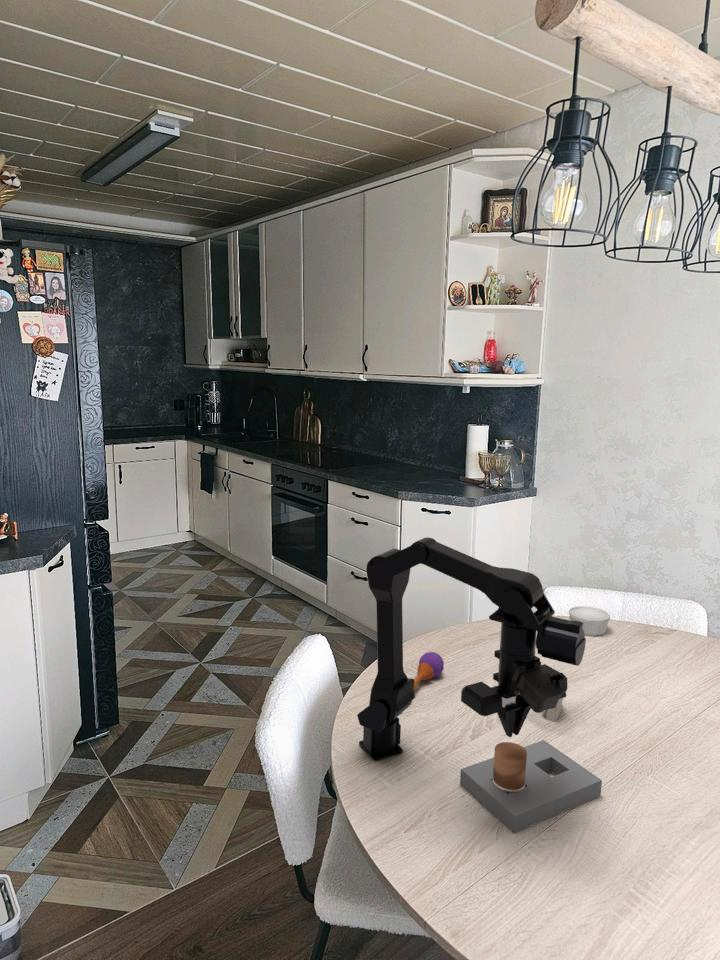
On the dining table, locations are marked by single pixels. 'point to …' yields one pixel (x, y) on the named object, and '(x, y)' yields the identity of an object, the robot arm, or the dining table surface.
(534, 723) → the dining table surface
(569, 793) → the charcoal board
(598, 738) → the dining table surface
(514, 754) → the mahogany dowel
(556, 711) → the architectural model
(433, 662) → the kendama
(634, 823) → the dining table surface
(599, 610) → the ramekin
